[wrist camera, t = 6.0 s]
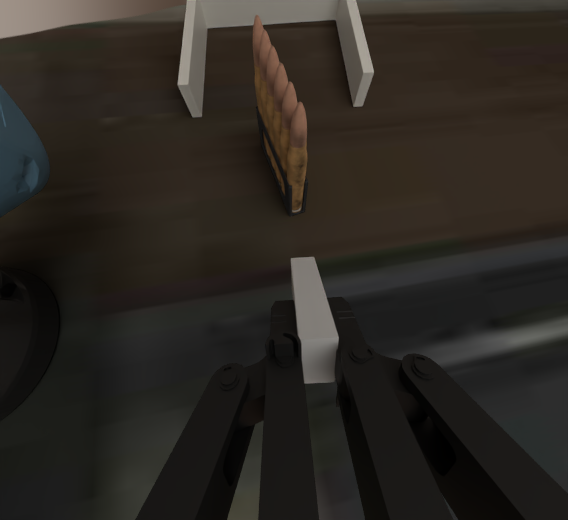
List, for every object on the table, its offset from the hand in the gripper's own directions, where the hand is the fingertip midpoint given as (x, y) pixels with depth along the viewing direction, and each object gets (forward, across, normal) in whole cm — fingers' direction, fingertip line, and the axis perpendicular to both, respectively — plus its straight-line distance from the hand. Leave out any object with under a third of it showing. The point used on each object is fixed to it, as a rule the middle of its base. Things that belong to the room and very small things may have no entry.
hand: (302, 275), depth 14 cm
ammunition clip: (+15, -1, +4) cm, 16 cm away
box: (+28, -1, +18) cm, 34 cm away
